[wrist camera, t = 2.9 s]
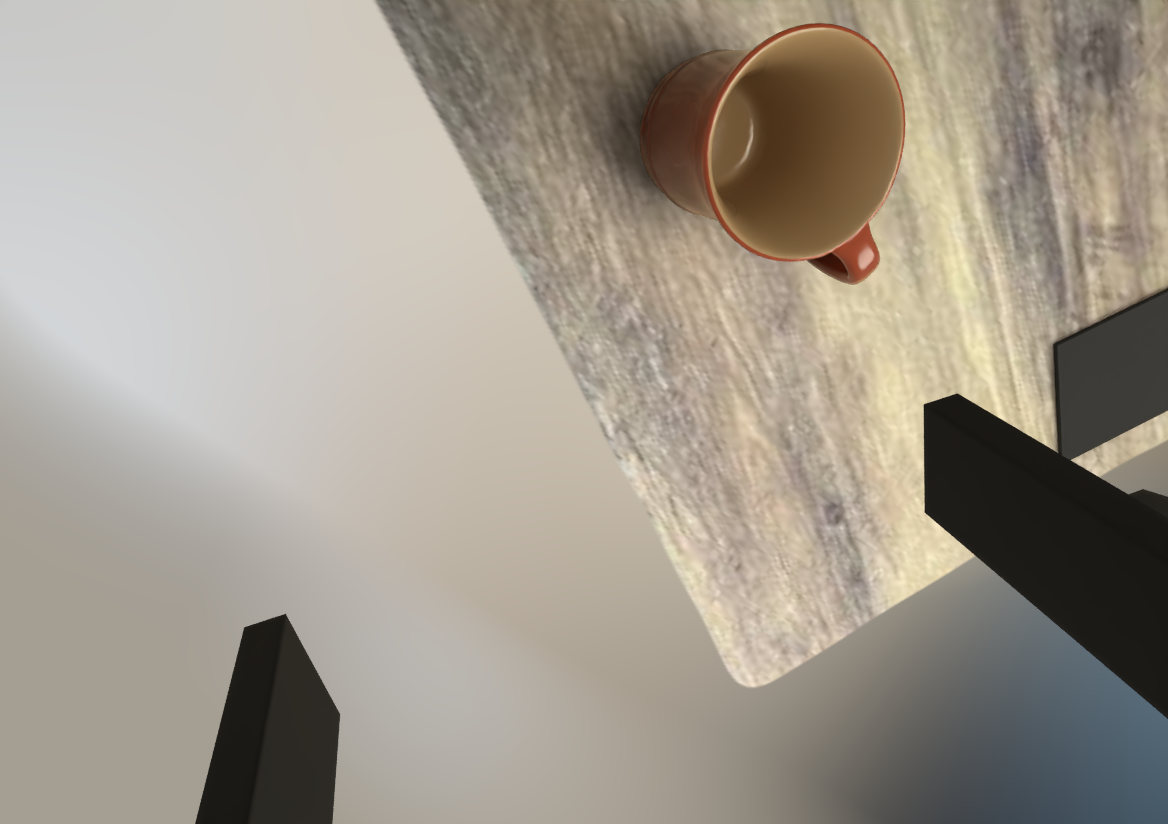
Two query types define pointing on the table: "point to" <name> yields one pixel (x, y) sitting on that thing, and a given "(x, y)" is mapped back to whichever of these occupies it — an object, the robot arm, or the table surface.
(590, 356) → the table surface
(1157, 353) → the mat
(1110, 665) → the robot arm
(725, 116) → the mug
